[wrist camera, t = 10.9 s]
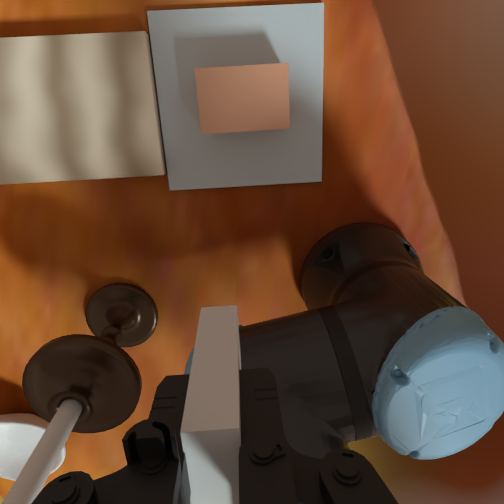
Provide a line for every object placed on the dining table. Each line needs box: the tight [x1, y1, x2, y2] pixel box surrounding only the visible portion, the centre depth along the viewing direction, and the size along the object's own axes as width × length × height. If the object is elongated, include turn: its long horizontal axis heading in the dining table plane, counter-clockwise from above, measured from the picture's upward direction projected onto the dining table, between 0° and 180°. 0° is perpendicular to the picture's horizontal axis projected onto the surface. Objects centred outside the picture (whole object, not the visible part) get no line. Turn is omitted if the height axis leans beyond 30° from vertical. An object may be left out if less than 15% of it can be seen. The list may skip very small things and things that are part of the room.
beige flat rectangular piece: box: [0, 31, 167, 185], centre depth 40 cm, size 18×14×2 cm
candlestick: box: [2, 283, 158, 504], centre depth 33 cm, size 11×11×35 cm
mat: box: [147, 3, 324, 191], centre depth 41 cm, size 18×18×1 cm
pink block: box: [194, 63, 290, 134], centre depth 39 cm, size 9×6×4 cm, turn 93°
